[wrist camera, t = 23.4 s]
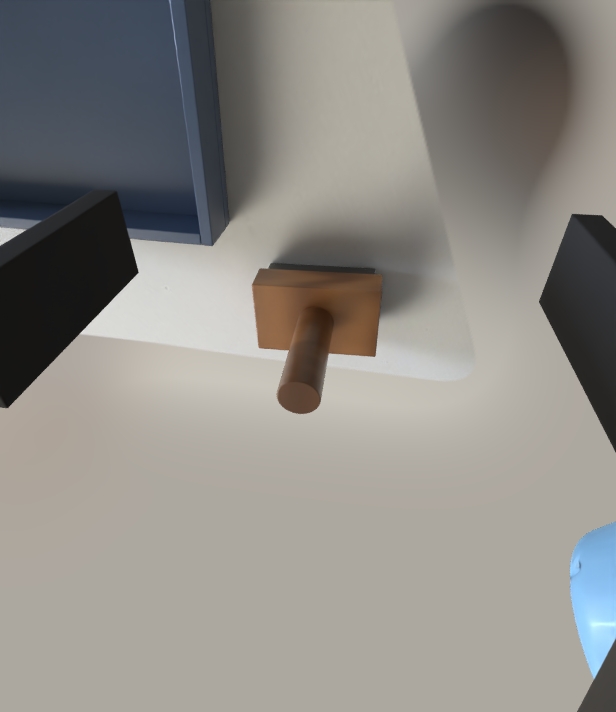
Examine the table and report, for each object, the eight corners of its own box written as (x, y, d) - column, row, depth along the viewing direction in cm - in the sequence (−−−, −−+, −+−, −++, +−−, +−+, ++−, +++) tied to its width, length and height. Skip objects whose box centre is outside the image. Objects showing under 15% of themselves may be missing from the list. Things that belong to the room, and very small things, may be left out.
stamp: (382, 264, 33) (380, 367, 23) (376, 327, 36) (372, 438, 27) (263, 259, 34) (216, 354, 24) (269, 319, 37) (229, 424, 28)
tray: (204, -71, 23) (175, -83, 19) (229, 223, 32) (213, 246, 29) (-232, -79, 25) (-320, -92, 22) (-86, 197, 35) (-132, 215, 32)
